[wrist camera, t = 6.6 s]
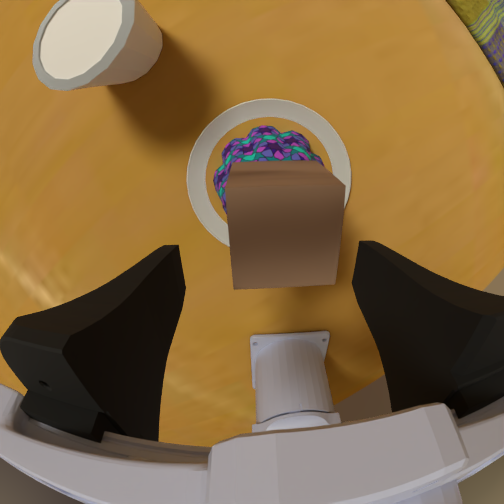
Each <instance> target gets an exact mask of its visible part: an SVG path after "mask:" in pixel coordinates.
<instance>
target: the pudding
mask: <svg viewBox="0 0 504 504" xmlns="http://www.w3.org/2000/svg"><path fill="white" fill-rule="evenodd" d="M259 117H279V118H285V119H288V120H291V121H294V122H297V123H299V124H300V125H302V126H304V127H306V128H307V129H308V130H310V131H311V132H312V133H313V134H315V135H316V137H317V138H318V139H319V140H320V141H321V142H322V144H323V145H324V147H325V149H326V151H327V152H328V155H329V158H330V161H331V164H332V170H333V175H334V176H335V177H337V178H338V179H339V180H340V181H341V182H342V183H343V184H345V185H346V190H345V203H344V208H345V206H346V203H347V201H348V197H349V193H350V188H351V167H350V160H349V157H348V154H347V151H346V148H345V145H344V144H343V142H342V140H341V138H340V136H339V135H338V133H337V132H336V131H335V130H334V128H333V127H332V126H331V125H330V124H329V122H327V121H326V120H325V119H324V118H323V117H321V116H320V115H319V114H318V113H316V112H314V111H313V110H311V109H309V108H307V107H305V106H304V105H301V104H298V103H295V102H292V101H288V100H281V99H257V100H252V101H248V102H244V103H241V104H239V105H236V106H234V107H232V108H230V109H228V110H226V111H225V112H223V113H222V114H220V115H219V116H217V117H216V118H215V119H214V120H213V121H212V122H211V123H210V124H209V125H208V126H207V127H206V128H205V129H204V130H203V132H202V133H201V135H200V136H199V138H198V139H197V140H196V143H195V145H194V147H193V149H192V152H191V154H190V158H189V162H188V167H187V188H188V195H189V198H190V201H191V204H192V207H193V210H194V211H195V213H196V215H197V217H198V219H199V220H200V222H201V223H202V224H203V225H204V227H205V228H206V229H207V230H208V231H209V232H210V233H211V234H212V235H213V236H214V237H215V238H216V239H218V240H219V241H221V242H222V243H224V244H225V245H227V246H229V247H230V244H229V232H228V225H227V224H226V223H225V222H224V221H223V220H222V219H221V218H220V217H219V215H218V214H217V213H216V212H215V210H214V208H213V206H212V205H211V203H210V200H209V197H208V194H207V191H206V183H205V175H206V167H207V163H208V159H209V157H210V154H211V152H212V150H213V148H214V147H215V145H216V144H217V142H218V141H219V140H220V139H221V138H222V137H223V136H224V135H225V134H226V133H227V132H228V131H229V130H231V129H232V128H234V127H235V126H237V125H238V124H241V123H243V122H245V121H248V120H251V119H255V118H259ZM222 159H223V165H222V166H220V167H219V168H218V169H217V170H216V171H215V175H214V180H213V181H214V185H215V189H216V191H217V193H218V195H219V197H220V199H221V201H222V203H223V208H224V210H225V212H226V214H227V208H226V196H225V186H226V183H227V179H228V176H229V173H230V169H231V166H232V163H233V162H252V161H293V160H310V161H318V162H319V163H320V164H321V165H322V166H324V164H323V162H322V160H321V158H320V157H319V156H317V155H315V154H313V153H312V152H310V147H309V141H308V140H307V139H306V138H305V137H304V136H303V135H302V134H299V133H297V132H294V131H288V132H284V133H280V132H279V131H278V130H277V129H275V128H274V127H273V126H259V127H257V128H254V129H252V130H251V132H250V133H249V134H248V136H247V137H246V138H236V139H233V140H232V141H231V142H229V143H228V144H227V145H226V147H225V148H224V150H223V152H222Z"/></svg>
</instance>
